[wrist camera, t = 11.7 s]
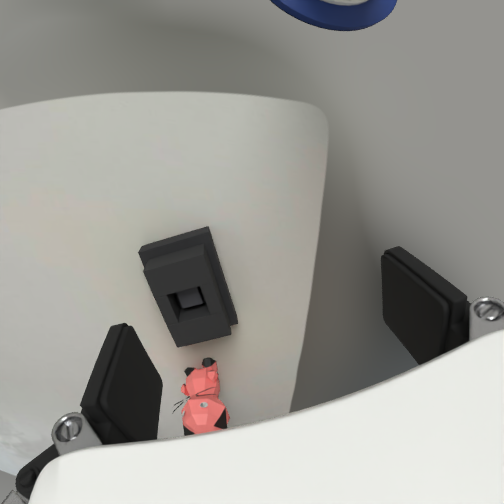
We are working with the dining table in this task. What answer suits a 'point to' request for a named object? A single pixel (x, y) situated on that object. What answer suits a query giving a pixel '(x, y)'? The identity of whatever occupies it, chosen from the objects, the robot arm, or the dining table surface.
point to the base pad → (204, 237)
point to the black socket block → (182, 278)
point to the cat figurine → (203, 400)
